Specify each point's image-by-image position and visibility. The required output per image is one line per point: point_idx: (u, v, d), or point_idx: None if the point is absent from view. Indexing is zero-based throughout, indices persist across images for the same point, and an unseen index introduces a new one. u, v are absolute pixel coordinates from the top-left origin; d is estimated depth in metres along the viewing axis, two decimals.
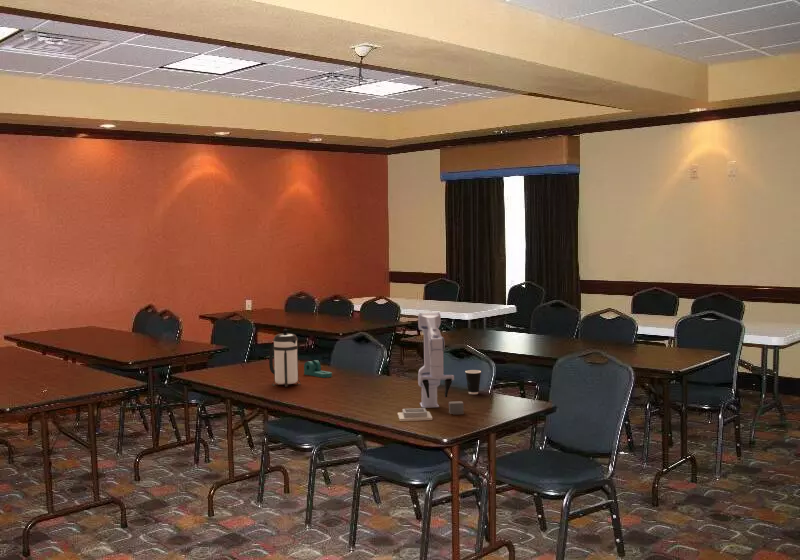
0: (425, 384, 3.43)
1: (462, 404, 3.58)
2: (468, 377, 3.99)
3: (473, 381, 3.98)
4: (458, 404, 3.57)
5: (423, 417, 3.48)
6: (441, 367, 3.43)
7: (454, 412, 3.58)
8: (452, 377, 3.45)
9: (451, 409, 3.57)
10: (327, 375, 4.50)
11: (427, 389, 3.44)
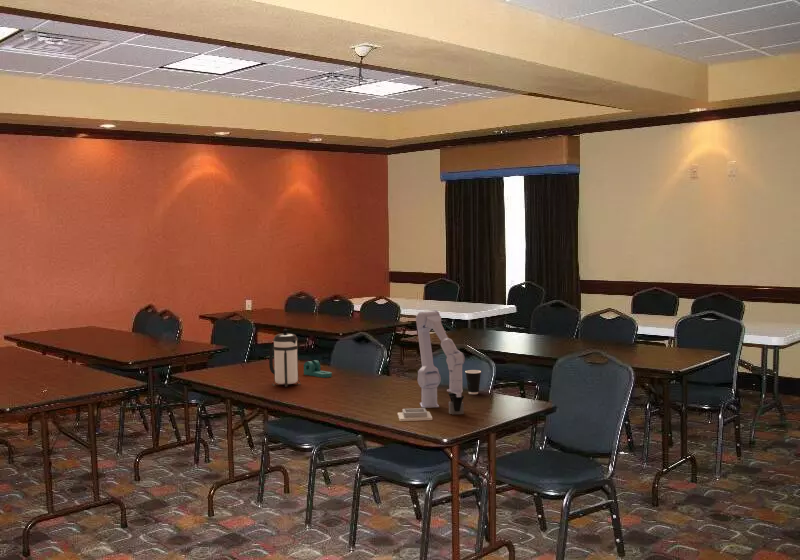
0: (449, 395, 3.63)
1: (462, 404, 3.58)
2: (468, 377, 3.99)
3: (473, 381, 3.98)
4: None
5: (423, 417, 3.48)
6: (451, 381, 3.57)
7: (454, 412, 3.58)
8: (456, 394, 3.52)
9: (451, 409, 3.57)
10: (327, 375, 4.50)
11: (451, 400, 3.62)
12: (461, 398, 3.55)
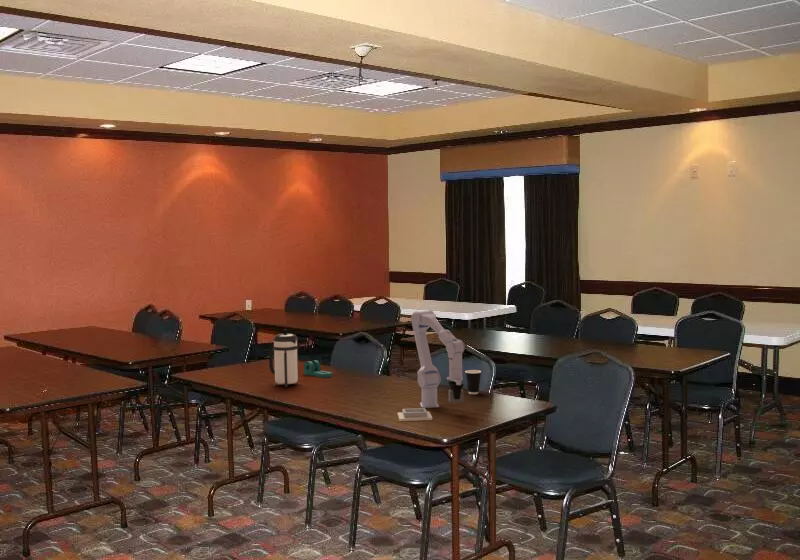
0: None
1: (462, 392, 3.57)
2: (468, 377, 3.99)
3: (473, 381, 3.98)
4: None
5: (423, 417, 3.48)
6: (451, 369, 3.56)
7: (454, 400, 3.57)
8: (456, 382, 3.52)
9: (451, 397, 3.57)
10: (327, 375, 4.50)
11: None
12: (461, 386, 3.55)
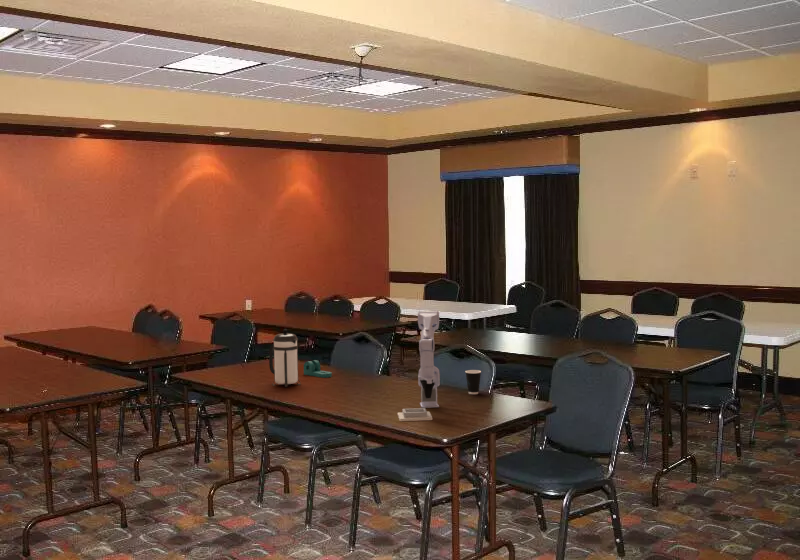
0: (420, 381, 3.58)
1: (434, 391, 3.53)
2: (468, 377, 3.99)
3: (473, 381, 3.98)
4: None
5: (423, 417, 3.48)
6: (422, 368, 3.52)
7: (426, 399, 3.52)
8: (426, 380, 3.47)
9: (423, 396, 3.52)
10: (327, 375, 4.50)
11: (422, 387, 3.57)
12: (432, 385, 3.50)
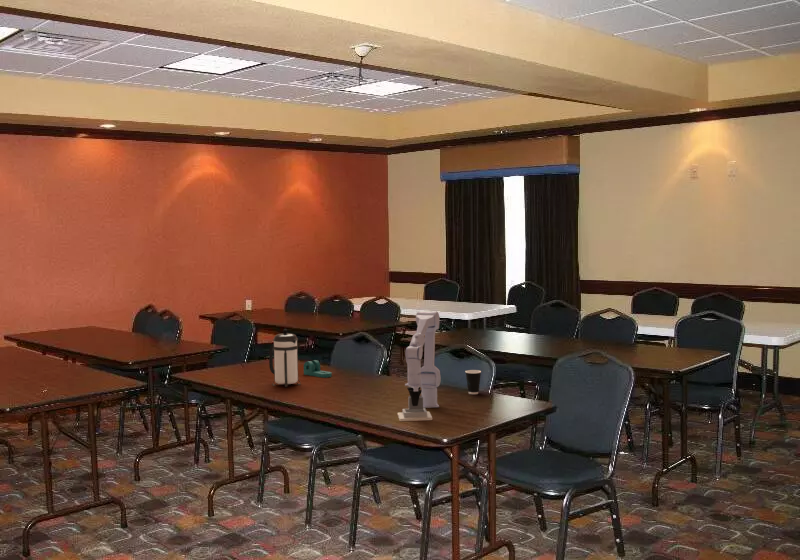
0: None
1: (421, 399, 3.51)
2: (468, 377, 3.99)
3: (473, 381, 3.98)
4: None
5: (423, 417, 3.48)
6: (409, 375, 3.50)
7: (413, 407, 3.51)
8: (413, 388, 3.46)
9: (410, 404, 3.51)
10: (327, 375, 4.50)
11: None
12: (419, 392, 3.48)
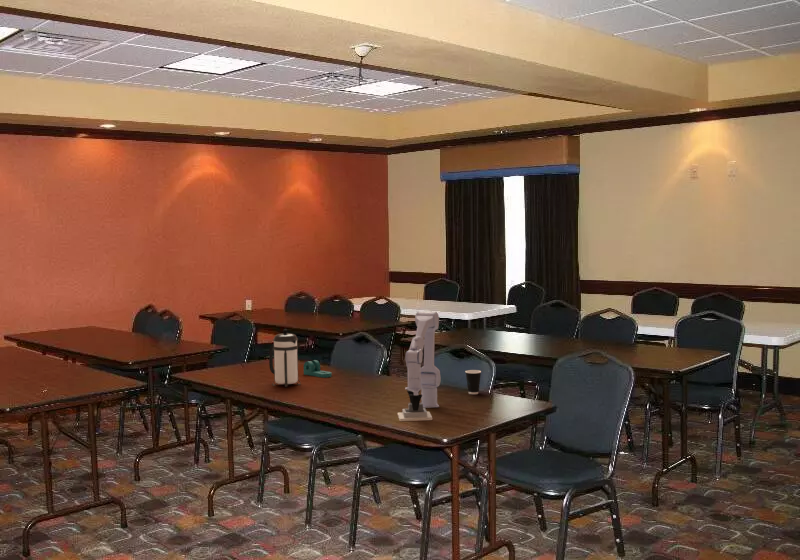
0: None
1: (421, 406, 3.51)
2: (468, 377, 3.99)
3: (473, 381, 3.98)
4: None
5: (423, 417, 3.48)
6: (409, 379, 3.50)
7: None
8: (413, 392, 3.46)
9: (410, 411, 3.51)
10: (327, 375, 4.50)
11: None
12: (419, 397, 3.47)
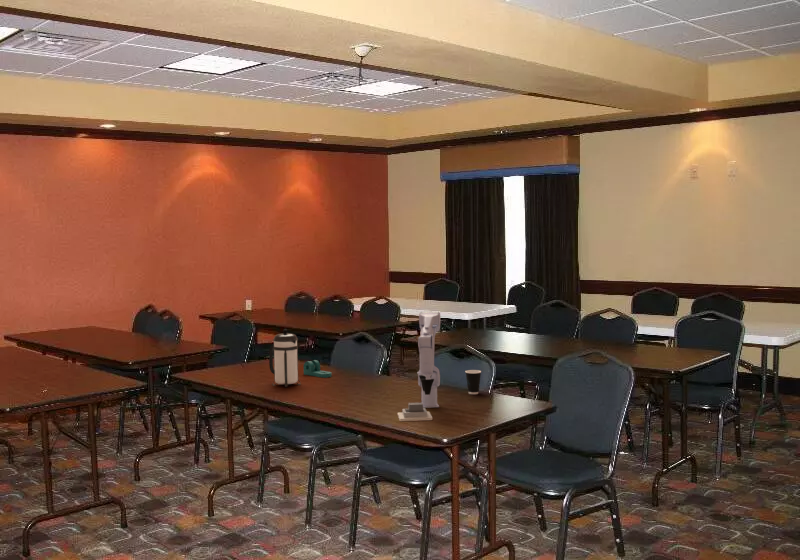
0: (419, 377, 3.63)
1: (421, 406, 3.51)
2: (468, 377, 3.99)
3: (473, 381, 3.98)
4: (417, 405, 3.51)
5: (423, 417, 3.48)
6: (421, 364, 3.56)
7: None
8: (425, 376, 3.52)
9: (410, 411, 3.51)
10: (327, 375, 4.50)
11: (421, 382, 3.63)
12: (431, 381, 3.53)
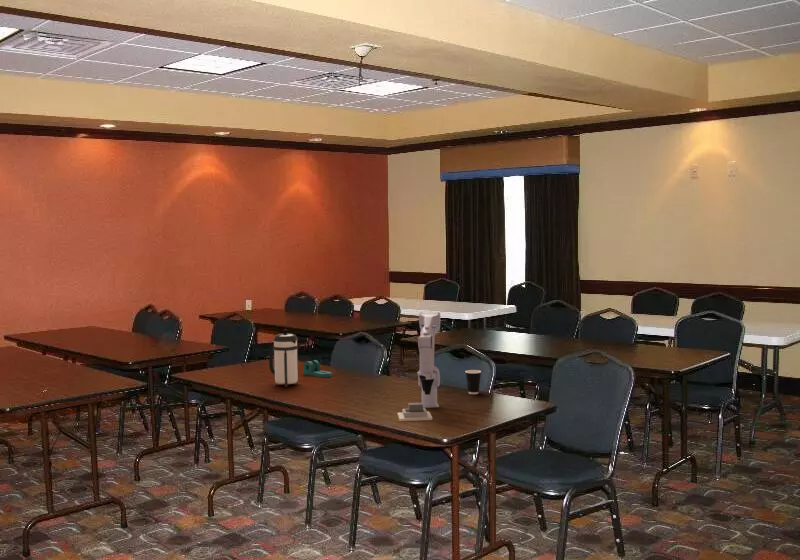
0: (419, 377, 3.63)
1: (421, 406, 3.51)
2: (468, 377, 3.99)
3: (473, 381, 3.98)
4: (417, 405, 3.51)
5: (423, 417, 3.48)
6: (421, 364, 3.56)
7: None
8: (425, 376, 3.52)
9: (410, 411, 3.51)
10: (327, 375, 4.50)
11: (421, 382, 3.63)
12: (431, 381, 3.53)
